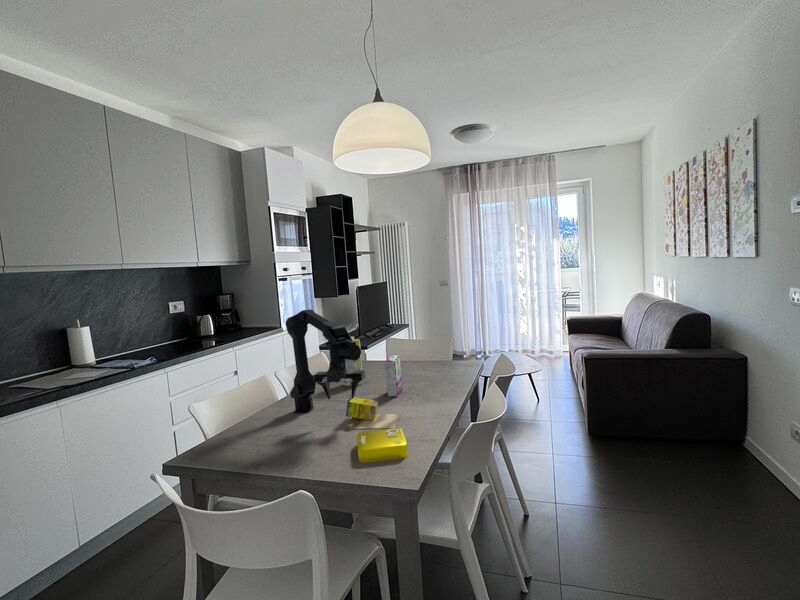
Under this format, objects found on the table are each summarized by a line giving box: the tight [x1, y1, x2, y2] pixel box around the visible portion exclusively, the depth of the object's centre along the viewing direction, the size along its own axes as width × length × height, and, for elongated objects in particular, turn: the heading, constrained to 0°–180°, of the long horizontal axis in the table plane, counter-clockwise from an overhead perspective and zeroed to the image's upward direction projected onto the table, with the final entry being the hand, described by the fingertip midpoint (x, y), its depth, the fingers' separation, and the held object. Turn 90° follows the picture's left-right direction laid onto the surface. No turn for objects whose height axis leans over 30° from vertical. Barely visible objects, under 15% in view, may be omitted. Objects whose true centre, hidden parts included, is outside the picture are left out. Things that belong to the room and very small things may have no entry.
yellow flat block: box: [356, 427, 409, 464], centre depth 136 cm, size 15×15×5 cm
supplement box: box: [345, 396, 379, 421], centre depth 165 cm, size 6×6×11 cm
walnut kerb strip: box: [345, 417, 359, 431], centre depth 163 cm, size 2×16×2 cm, turn 171°
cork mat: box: [352, 413, 401, 430], centre depth 162 cm, size 16×14×1 cm
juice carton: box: [342, 336, 364, 387], centre depth 216 cm, size 9×8×24 cm
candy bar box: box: [384, 354, 403, 398], centre depth 196 cm, size 11×5×16 cm, turn 168°
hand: (341, 398), depth 163 cm, fingers open, 9 cm apart
